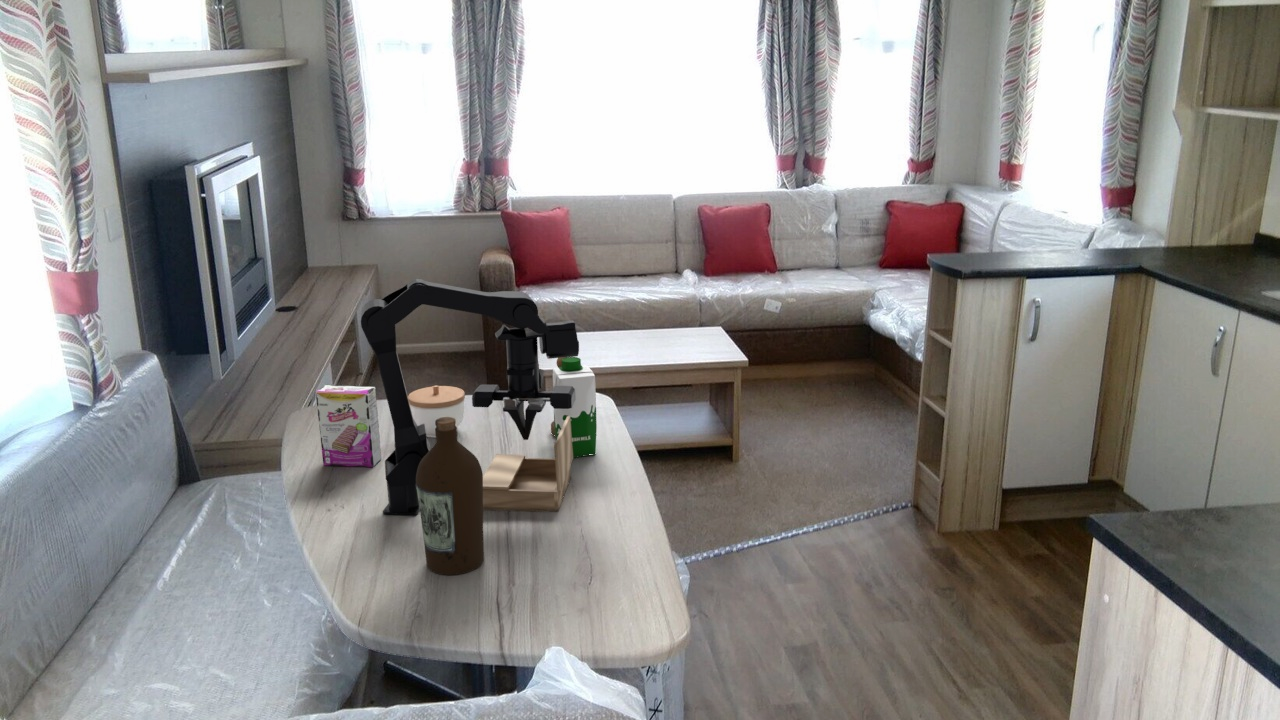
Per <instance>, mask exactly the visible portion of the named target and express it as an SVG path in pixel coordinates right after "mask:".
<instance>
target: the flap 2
mask: <svg viewBox="0 0 1280 720" xmlns="http://www.w3.org/2000/svg"><path fill="white" fill-rule="evenodd" d="M553 449H554V450H553V453H554V458H555V467H556V480H557V491H561V489H562V486H563V484H564V481H565V478H566V476H567V473H568V471H569V468H570V466H571V465H572V462H573V460H574V458H573V447H572V433H571V419H570V416H567V418H566V420H565V422H564V424H563V427H562V429H561V431H560V433H559V435H558V438H557V440H556V439H555V442H554V444H553ZM571 467H572V466H571Z"/></svg>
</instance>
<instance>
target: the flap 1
mask: <svg viewBox="0 0 1280 720" xmlns="http://www.w3.org/2000/svg"><path fill="white" fill-rule="evenodd" d="M525 458H526V454H510V453H509V454H508V453H507V454H505V453H503V454H502V453H500V454H497V453H496V454H495V455H494V458H492V460H491V462H490V464H489V466H488V467H487V469H486V470H485V472H484V474H483V489H489V490H509V488H510V486H511V484H512V482H513V480H514V478H515V476H516V475H517V473H518V471H519V469H520V467H521V465H522V463H523V461H524V459H525Z"/></svg>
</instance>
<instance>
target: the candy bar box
mask: <svg viewBox="0 0 1280 720" xmlns="http://www.w3.org/2000/svg"><path fill="white" fill-rule="evenodd" d="M376 390H377V389H376V386H357V385H356V386H354V385H334V384H333V385H332V384H331V385H327V384H326V385H323V386H322V387H321V388H319V389H317V390H316V391H315V398H316V407H317V409H316V410H317V418H318V425H319V427H318V428H319V436H320V445H321V447H320V448H321V453H322V455H321V456H322V465H323V466H334V467H335V466H336V467H358V468H359V467H360V468H361V467H364V468H375V466H377V464H378V463H379V462H380V461H381V460H382V459H383V457H382V448H381V436H380V425H379V424H380V423H379V415H378V414H379V413H378V400H377V391H376Z"/></svg>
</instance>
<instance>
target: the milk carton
mask: <svg viewBox="0 0 1280 720" xmlns="http://www.w3.org/2000/svg"><path fill="white" fill-rule="evenodd" d="M581 362H582V359H581V358H580V357H578V356H576V357H567V358H563V359H562V367H558V366H557V367H553V368H552V389H553V388H554V386H572V387H573V388H574V389H575V393H576V400H575V402H574V404H573V406H572V408H570V409H554V408H553V421H554V428H555V436H556V437H555V436H554V437H555V441H556V440H557V438H558V435H559V433H560V431H561V429H562V427H563V424H564V422H565V420H566V418H567V416H570V419H571V433H572V447H573V457H574V458H578V457H577V456H583V455H589V454H595V453H596V451H597V429H598V427H597V394H596V375H595V373H594V371H593V370H592V369H591V368H590V367H589V366H588V365H587V364H585V365H582V363H581ZM595 455H596V454H595ZM583 457H584V456H583Z"/></svg>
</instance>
